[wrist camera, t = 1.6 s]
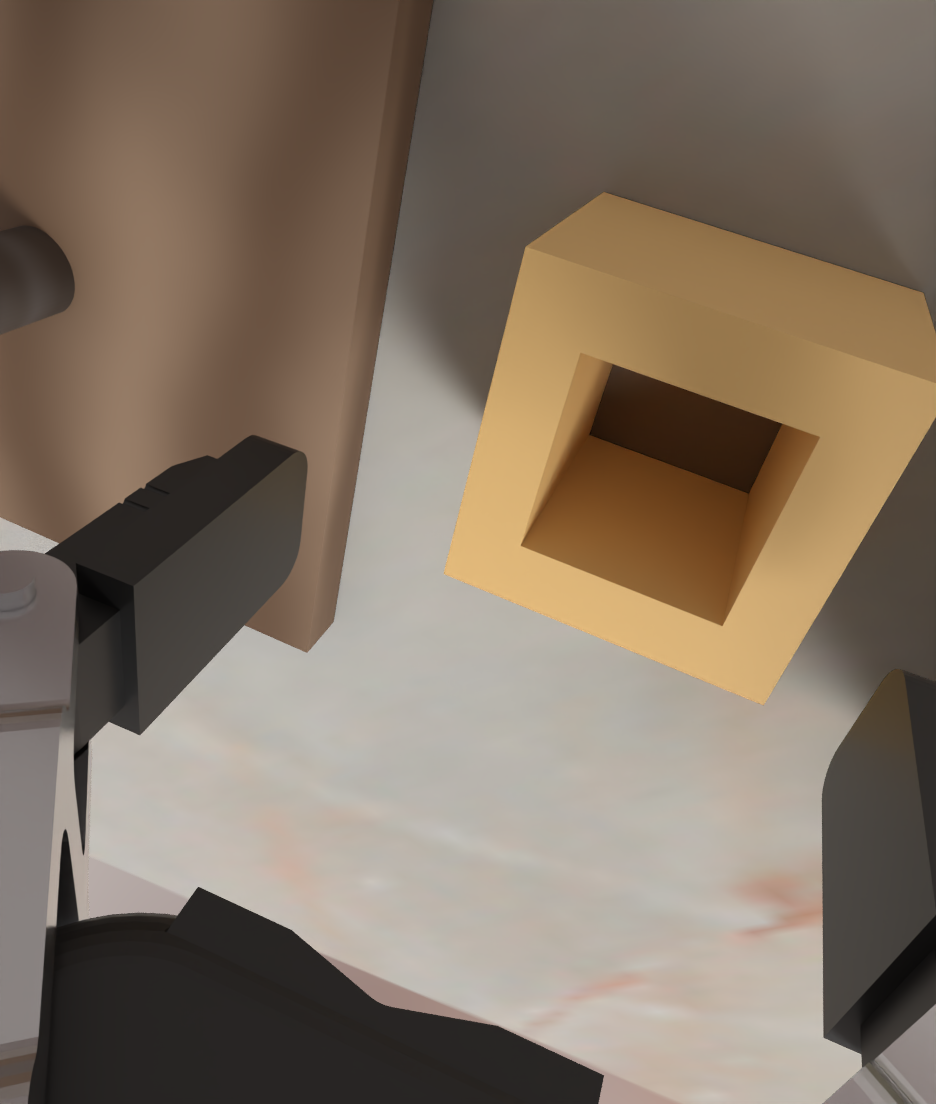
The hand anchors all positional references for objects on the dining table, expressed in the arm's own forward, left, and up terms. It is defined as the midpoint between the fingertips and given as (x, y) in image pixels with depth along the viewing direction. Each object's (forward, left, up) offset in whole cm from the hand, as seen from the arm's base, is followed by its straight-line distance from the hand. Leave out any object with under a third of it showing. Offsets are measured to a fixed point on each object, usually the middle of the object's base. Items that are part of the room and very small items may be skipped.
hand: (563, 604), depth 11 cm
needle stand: (+14, +1, -8) cm, 16 cm away
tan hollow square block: (-1, -1, -8) cm, 8 cm away
